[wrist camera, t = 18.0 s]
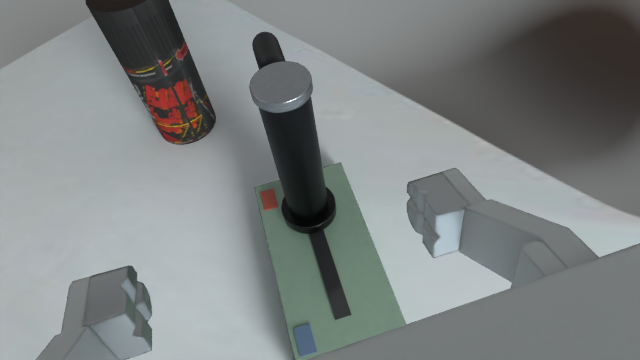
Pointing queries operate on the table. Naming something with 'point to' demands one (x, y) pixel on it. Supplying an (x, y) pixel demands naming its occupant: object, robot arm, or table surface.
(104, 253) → the table surface
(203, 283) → the table surface
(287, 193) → the cylinder
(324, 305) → the base
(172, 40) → the deodorant
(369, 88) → the table surface
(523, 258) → the robot arm
